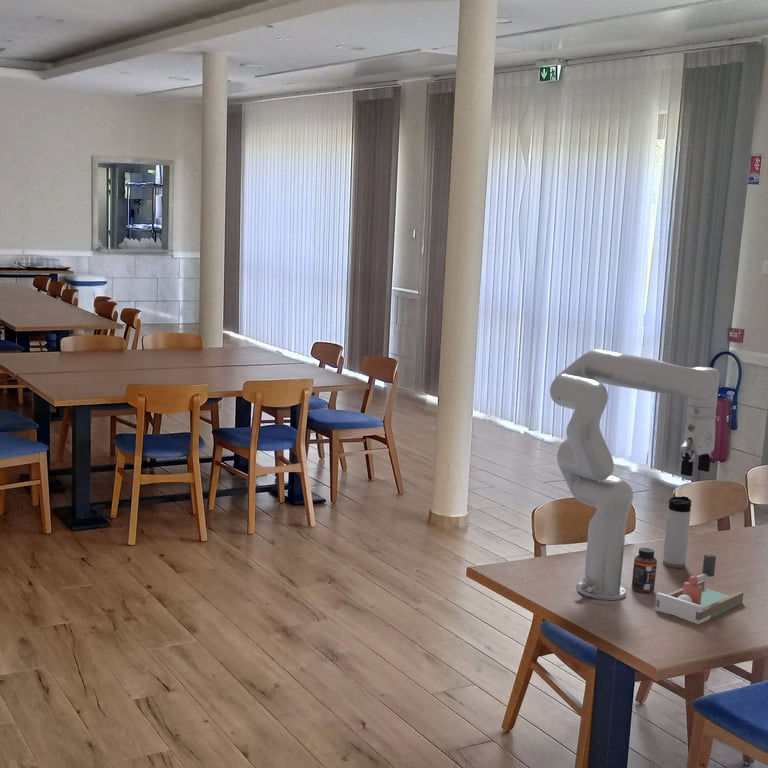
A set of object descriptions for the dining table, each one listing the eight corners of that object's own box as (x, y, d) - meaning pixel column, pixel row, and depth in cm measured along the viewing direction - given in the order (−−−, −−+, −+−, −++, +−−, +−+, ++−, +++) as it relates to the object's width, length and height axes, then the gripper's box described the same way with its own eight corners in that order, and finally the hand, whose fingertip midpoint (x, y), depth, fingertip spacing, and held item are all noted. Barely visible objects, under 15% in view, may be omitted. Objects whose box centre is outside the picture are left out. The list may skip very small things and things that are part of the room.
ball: (696, 595, 259) (694, 610, 260) (681, 591, 262) (680, 606, 262) (688, 599, 256) (686, 614, 257) (674, 594, 259) (672, 609, 260)
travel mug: (689, 565, 301) (696, 498, 298) (679, 569, 296) (685, 502, 293) (669, 559, 305) (675, 494, 302) (659, 564, 300) (665, 497, 297)
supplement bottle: (652, 595, 272) (657, 554, 271) (630, 591, 274) (634, 550, 273) (655, 588, 278) (659, 548, 276) (632, 585, 280) (636, 545, 278)
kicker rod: (696, 609, 260) (701, 565, 258) (680, 604, 263) (685, 560, 261) (716, 600, 267) (720, 557, 266) (700, 595, 270) (705, 552, 269)
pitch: (698, 624, 253) (700, 606, 253) (655, 610, 261) (656, 593, 261) (742, 603, 270) (744, 586, 270) (700, 590, 279) (701, 574, 278)
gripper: (698, 417, 273) (692, 479, 275) (728, 411, 285) (722, 471, 288) (673, 412, 278) (667, 474, 280) (703, 407, 290) (697, 466, 293)
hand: (695, 473), depth 284 cm, fingers open, 9 cm apart
